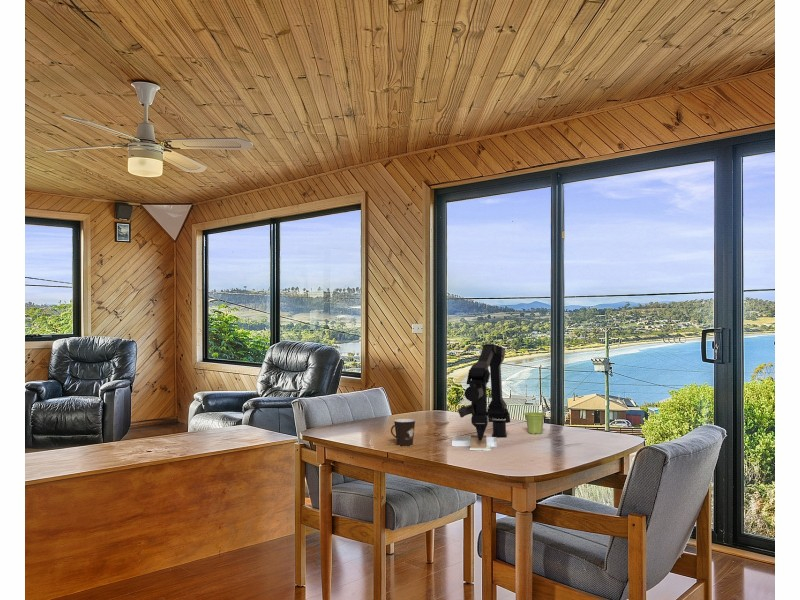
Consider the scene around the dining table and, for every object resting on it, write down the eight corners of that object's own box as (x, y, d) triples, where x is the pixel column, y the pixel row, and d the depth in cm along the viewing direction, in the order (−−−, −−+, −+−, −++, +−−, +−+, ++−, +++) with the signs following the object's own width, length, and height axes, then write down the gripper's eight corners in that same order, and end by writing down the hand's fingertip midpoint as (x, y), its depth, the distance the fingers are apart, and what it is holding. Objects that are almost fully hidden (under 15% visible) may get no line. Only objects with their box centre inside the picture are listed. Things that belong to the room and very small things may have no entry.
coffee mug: (410, 442, 258) (410, 418, 259) (418, 446, 250) (418, 421, 251) (384, 444, 254) (384, 420, 254) (391, 448, 246) (391, 423, 246)
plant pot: (520, 433, 277) (519, 413, 278) (532, 430, 284) (532, 411, 284) (537, 435, 270) (536, 415, 271) (550, 433, 277) (549, 413, 277)
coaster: (470, 446, 248) (470, 444, 248) (490, 446, 247) (490, 444, 247) (469, 450, 240) (469, 448, 240) (490, 450, 239) (490, 448, 239)
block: (471, 445, 246) (471, 435, 247) (486, 445, 245) (486, 435, 246) (470, 447, 242) (470, 437, 242) (486, 448, 241) (485, 437, 241)
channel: (453, 441, 259) (453, 436, 259) (496, 441, 257) (496, 437, 257) (451, 446, 249) (451, 441, 249) (496, 446, 247) (496, 441, 247)
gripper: (460, 395, 254) (460, 433, 254) (458, 401, 236) (458, 442, 235) (487, 395, 253) (487, 434, 252) (487, 401, 234) (488, 442, 234)
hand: (480, 438), depth 243 cm, fingers open, 9 cm apart
